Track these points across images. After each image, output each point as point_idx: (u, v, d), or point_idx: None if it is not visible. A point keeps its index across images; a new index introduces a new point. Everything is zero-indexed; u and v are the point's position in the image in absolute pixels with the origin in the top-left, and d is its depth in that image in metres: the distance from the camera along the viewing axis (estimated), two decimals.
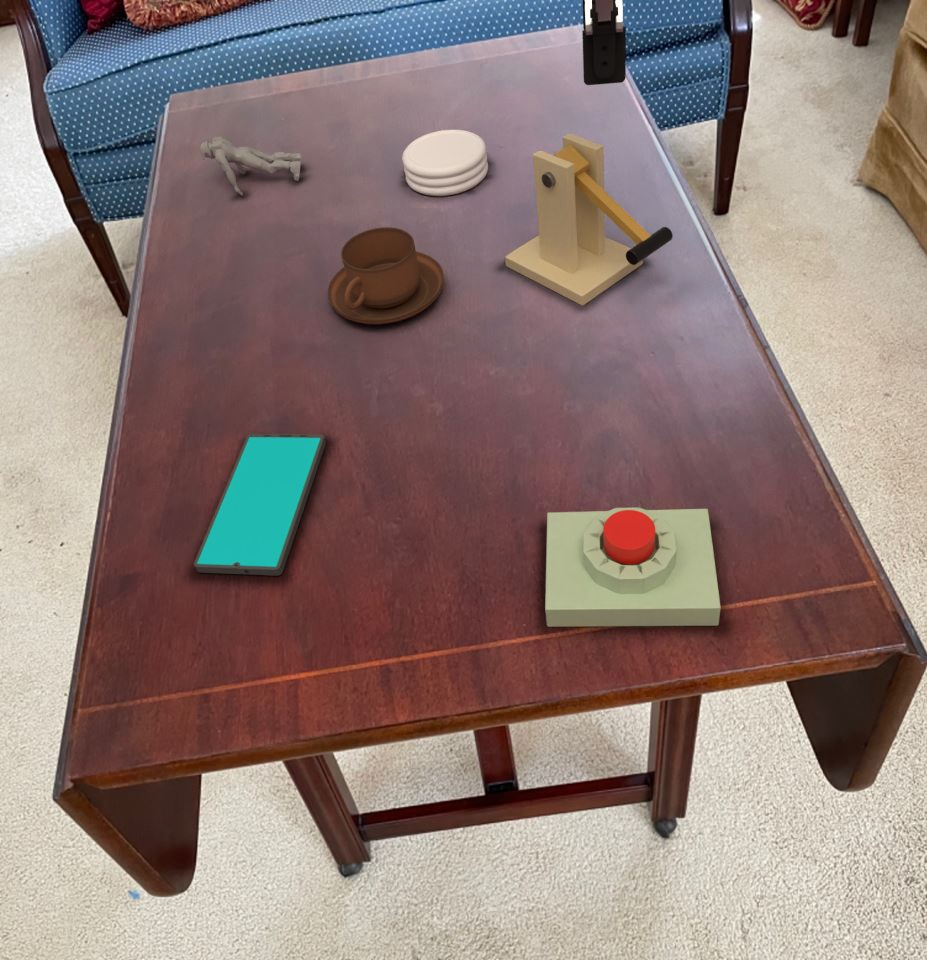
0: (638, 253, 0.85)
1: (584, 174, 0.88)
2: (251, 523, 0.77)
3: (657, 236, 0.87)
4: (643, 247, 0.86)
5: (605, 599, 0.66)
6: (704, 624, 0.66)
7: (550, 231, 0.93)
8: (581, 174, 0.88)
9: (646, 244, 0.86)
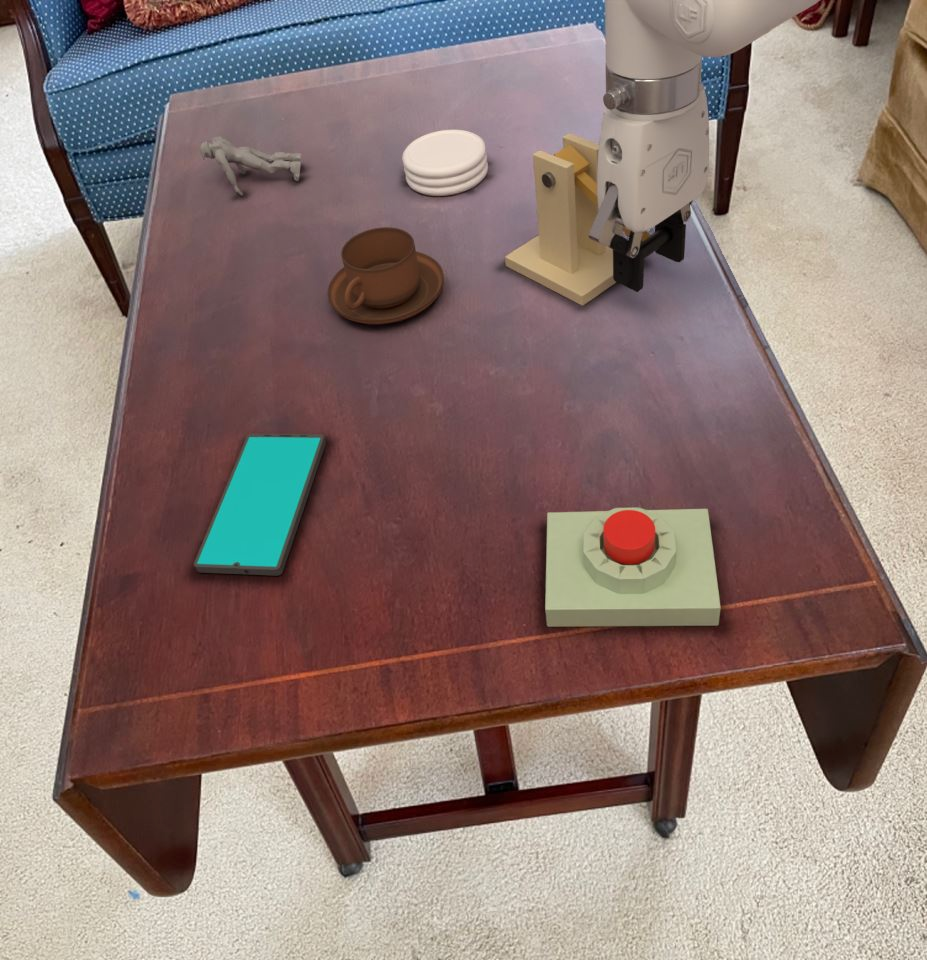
0: None
1: (584, 174, 0.88)
2: (251, 523, 0.77)
3: (657, 236, 0.87)
4: (643, 247, 0.86)
5: (605, 599, 0.66)
6: (704, 624, 0.66)
7: (550, 231, 0.93)
8: (581, 174, 0.88)
9: (646, 244, 0.86)
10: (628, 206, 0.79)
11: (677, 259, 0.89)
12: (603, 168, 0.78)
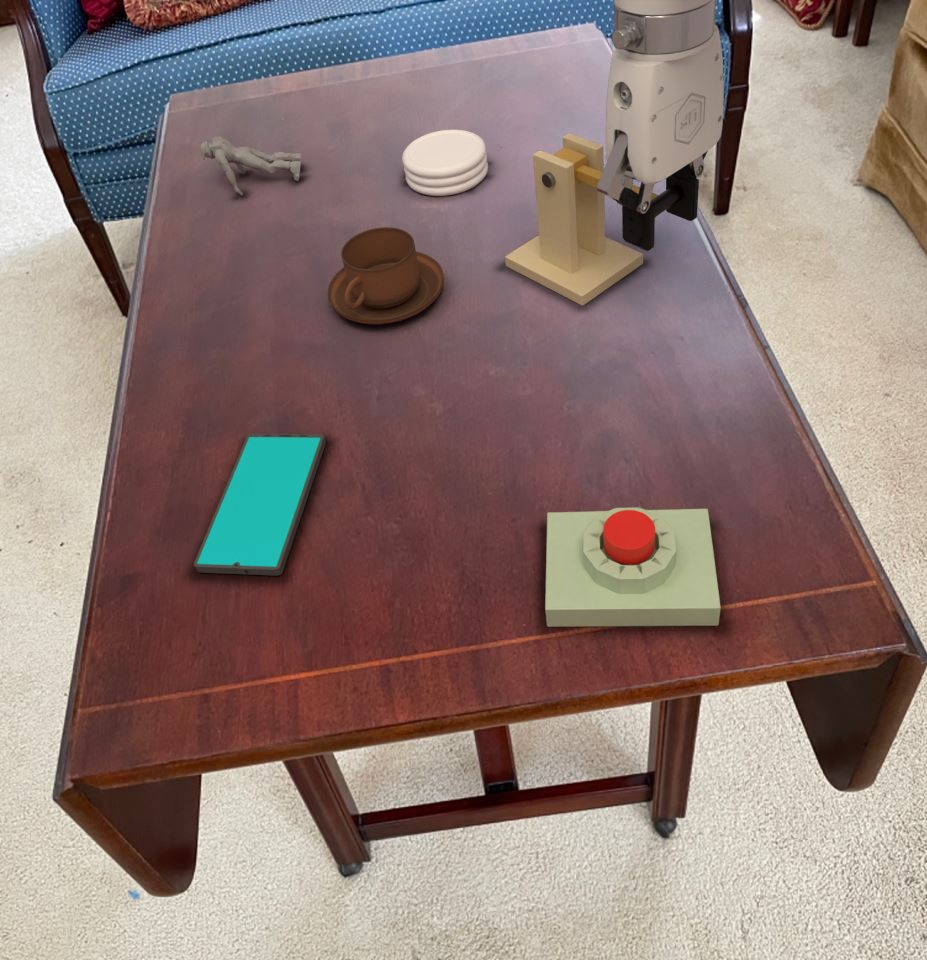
0: None
1: (583, 166, 0.88)
2: (251, 523, 0.77)
3: (664, 193, 0.83)
4: (650, 203, 0.82)
5: (605, 599, 0.66)
6: (704, 624, 0.66)
7: (550, 231, 0.93)
8: (580, 167, 0.88)
9: (653, 201, 0.82)
10: (638, 155, 0.74)
11: (690, 217, 0.84)
12: (612, 115, 0.74)
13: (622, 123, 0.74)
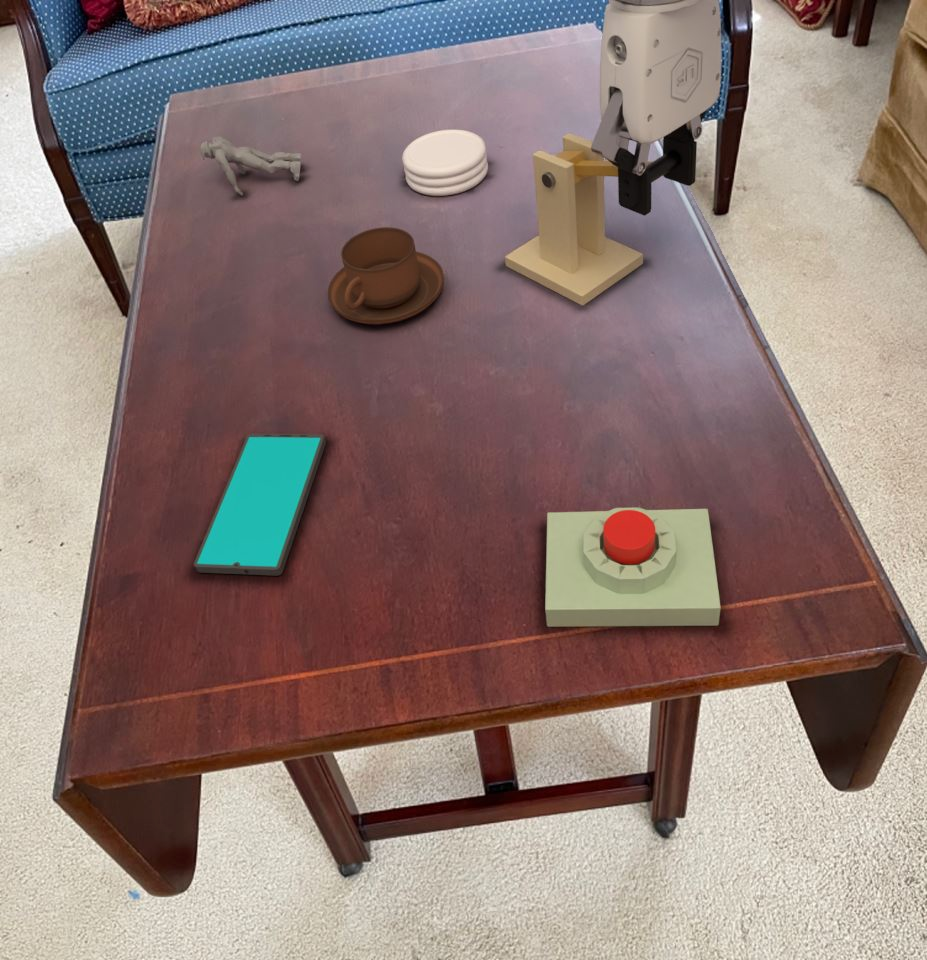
0: None
1: (581, 161, 0.88)
2: (251, 523, 0.77)
3: (659, 158, 0.81)
4: None
5: (605, 599, 0.66)
6: (704, 624, 0.66)
7: (550, 231, 0.93)
8: (578, 162, 0.88)
9: (648, 165, 0.80)
10: (634, 112, 0.72)
11: (688, 182, 0.82)
12: (606, 71, 0.72)
13: (617, 79, 0.72)
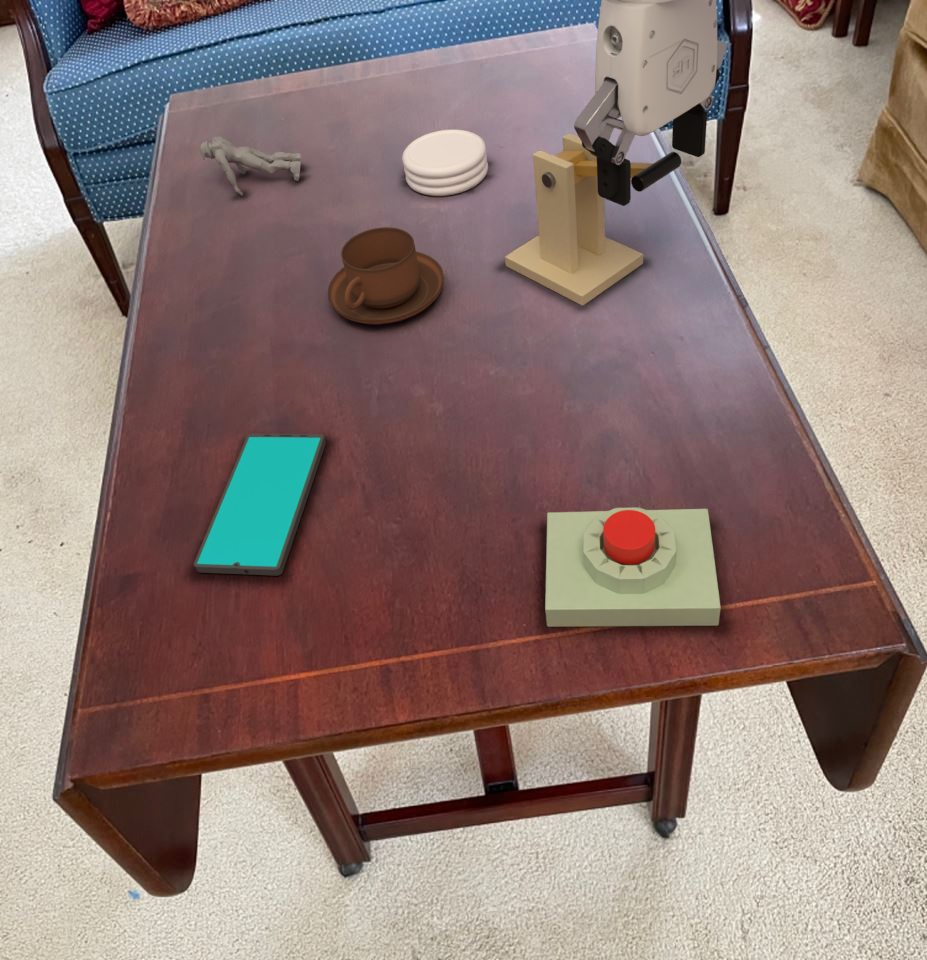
0: (640, 174, 0.80)
1: (582, 161, 0.88)
2: (251, 523, 0.77)
3: (660, 159, 0.81)
4: (645, 169, 0.80)
5: (605, 599, 0.66)
6: (704, 624, 0.66)
7: (550, 231, 0.93)
8: (578, 162, 0.88)
9: (648, 167, 0.80)
10: (629, 103, 0.72)
11: (697, 153, 0.82)
12: (602, 62, 0.72)
13: (612, 70, 0.71)
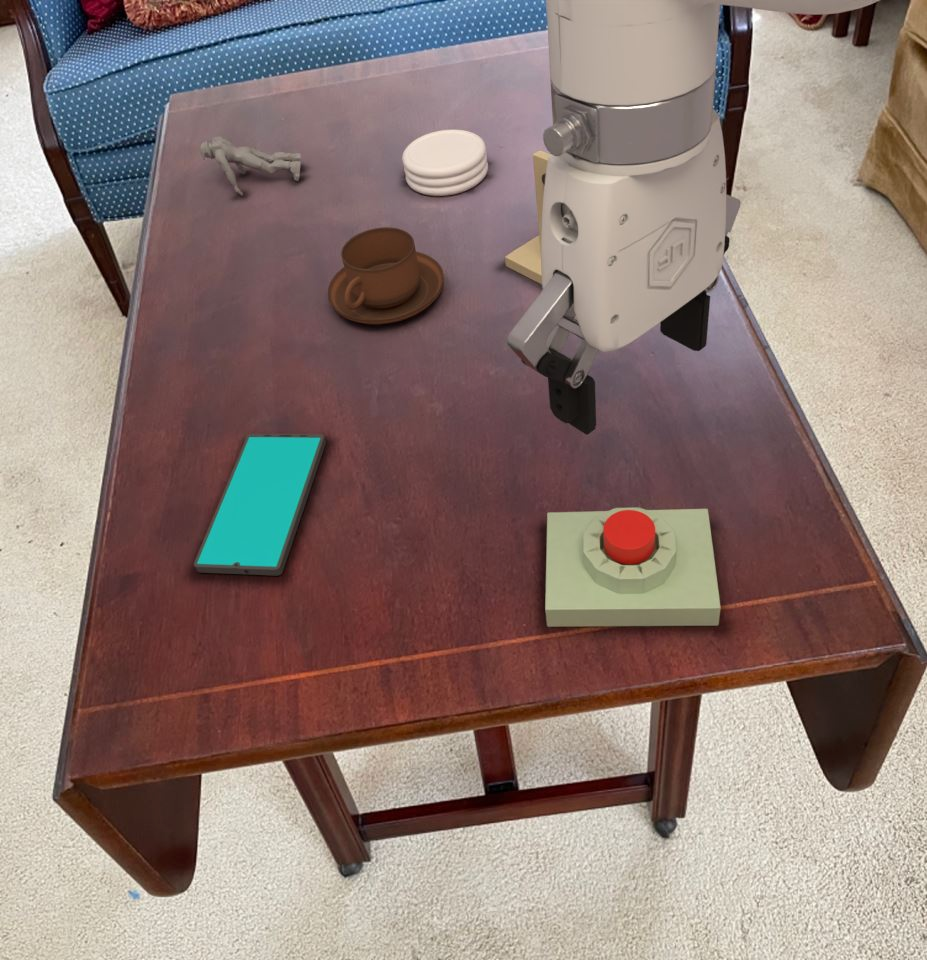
0: None
1: None
2: (251, 523, 0.77)
3: None
4: None
5: (605, 599, 0.66)
6: (704, 624, 0.66)
7: None
8: None
9: None
10: (590, 312, 0.47)
11: (695, 347, 0.57)
12: (549, 248, 0.47)
13: (565, 263, 0.47)
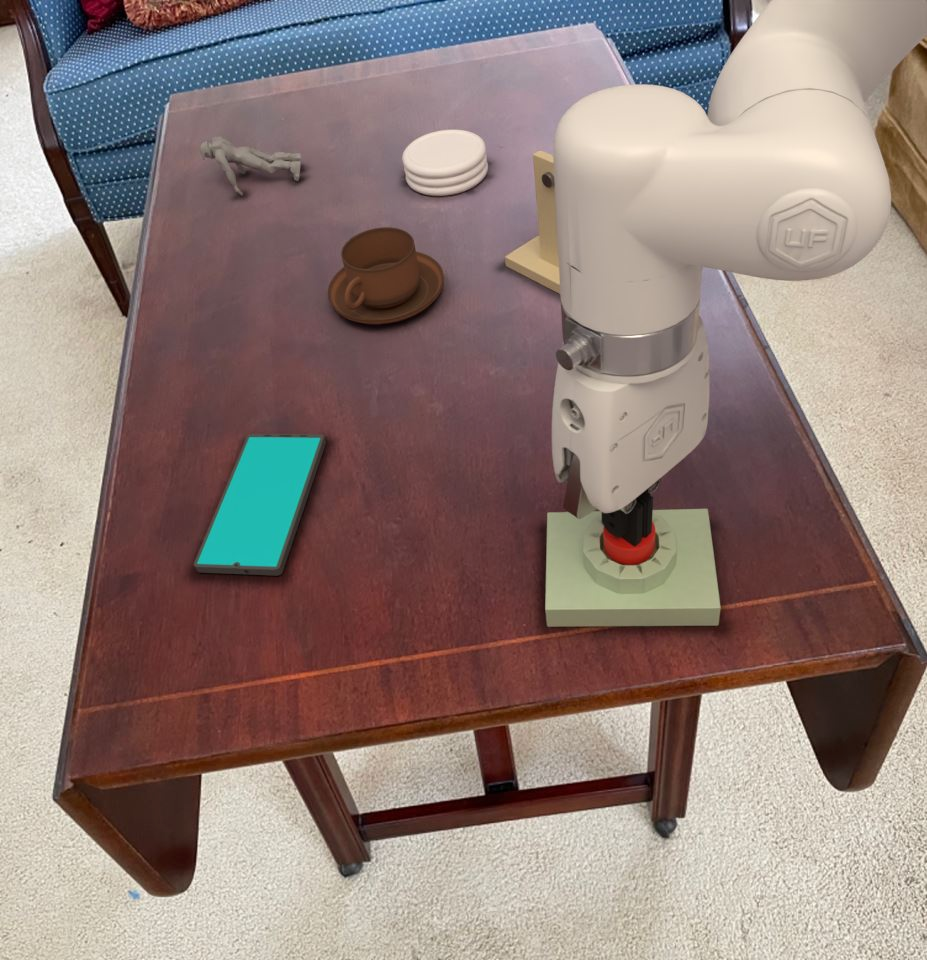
0: None
1: None
2: (251, 523, 0.77)
3: None
4: None
5: (605, 599, 0.66)
6: (704, 624, 0.66)
7: (550, 231, 0.93)
8: None
9: None
10: (594, 484, 0.55)
11: (642, 534, 0.65)
12: (559, 430, 0.55)
13: (572, 444, 0.55)
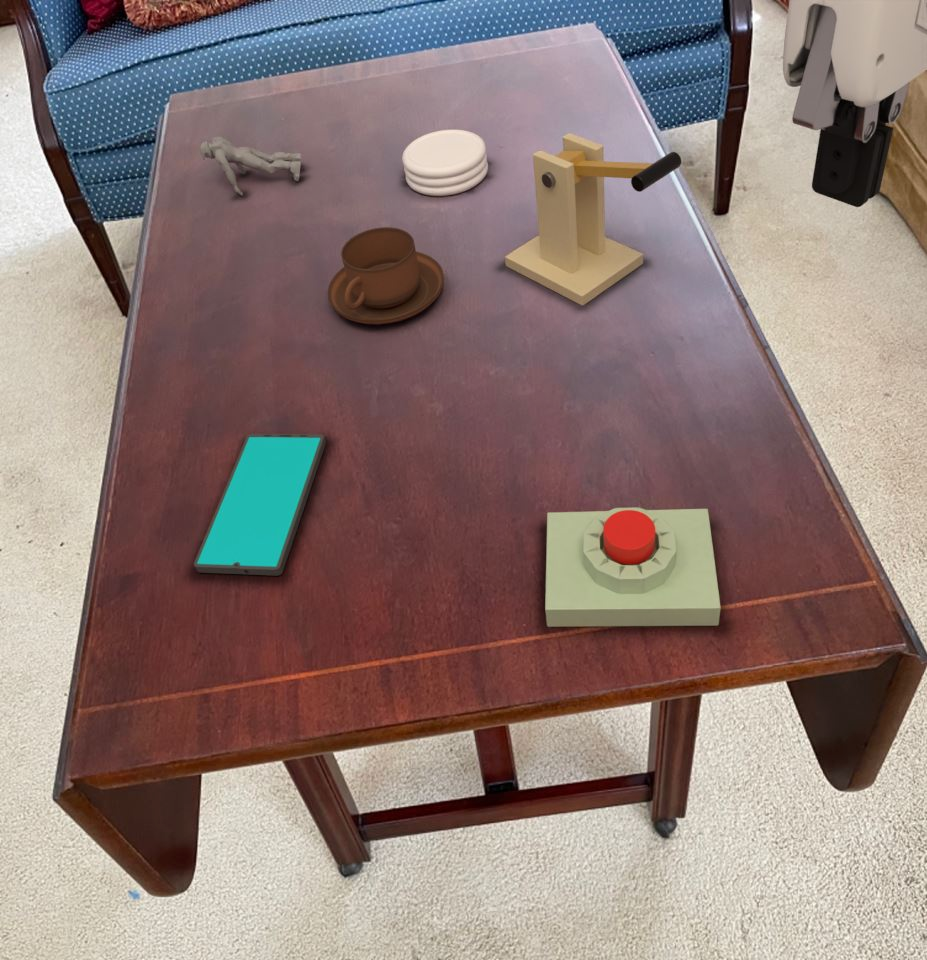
0: (640, 174, 0.80)
1: (582, 161, 0.88)
2: (251, 523, 0.77)
3: (660, 159, 0.81)
4: (645, 169, 0.80)
5: (605, 599, 0.66)
6: (704, 624, 0.66)
7: (550, 231, 0.93)
8: (578, 162, 0.88)
9: (648, 167, 0.80)
10: (854, 50, 0.42)
11: None
12: None
13: None
